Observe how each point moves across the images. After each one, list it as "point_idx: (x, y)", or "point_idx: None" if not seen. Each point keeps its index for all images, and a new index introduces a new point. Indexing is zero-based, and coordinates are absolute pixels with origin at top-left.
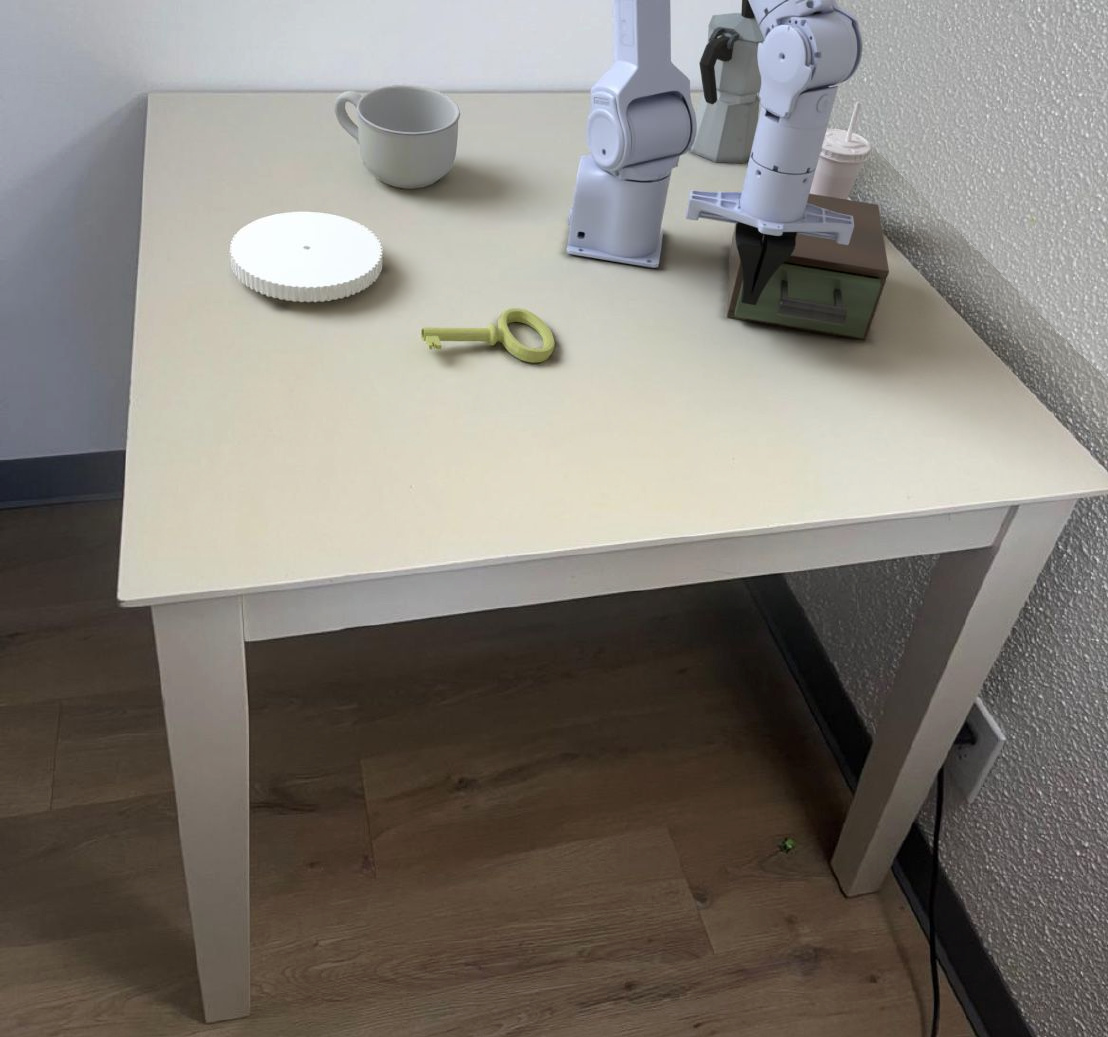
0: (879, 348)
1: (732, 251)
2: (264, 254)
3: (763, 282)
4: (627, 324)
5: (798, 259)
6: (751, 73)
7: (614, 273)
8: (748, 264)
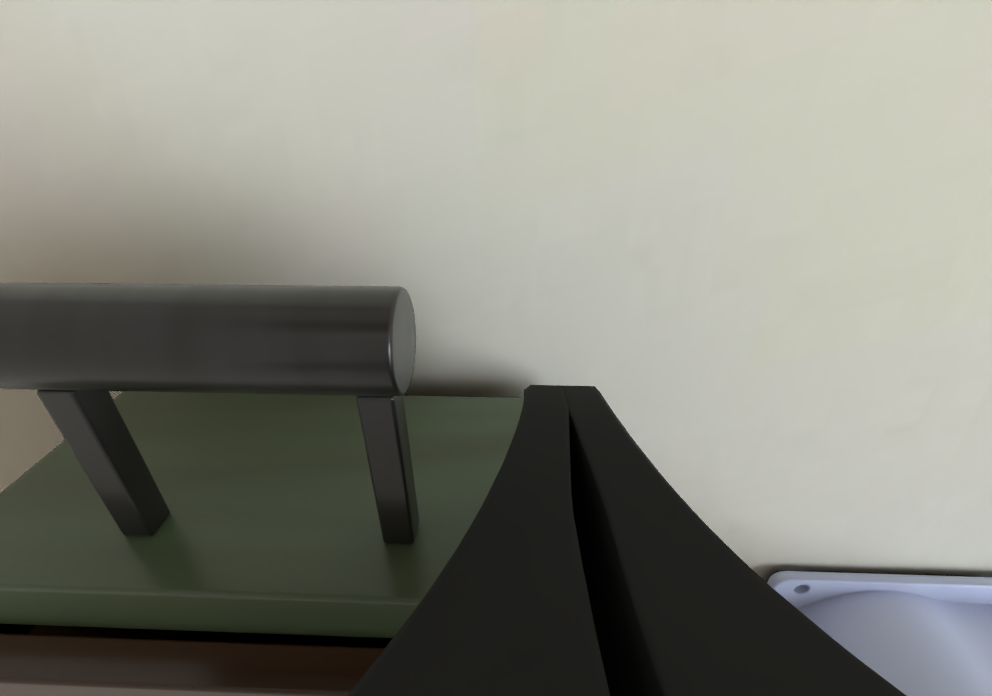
0: None
1: None
2: None
3: (523, 471)
4: (984, 287)
5: (331, 675)
6: None
7: (912, 531)
8: (706, 581)
